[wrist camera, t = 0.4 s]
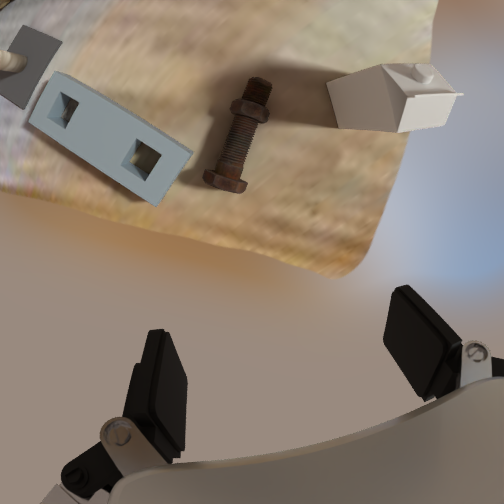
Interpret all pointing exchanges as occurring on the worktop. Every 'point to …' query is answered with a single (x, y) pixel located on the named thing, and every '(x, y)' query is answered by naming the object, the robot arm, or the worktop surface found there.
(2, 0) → the rough brown rock
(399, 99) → the milk carton
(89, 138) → the hole block
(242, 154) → the bolt
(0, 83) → the mat
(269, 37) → the worktop surface
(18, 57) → the peg
